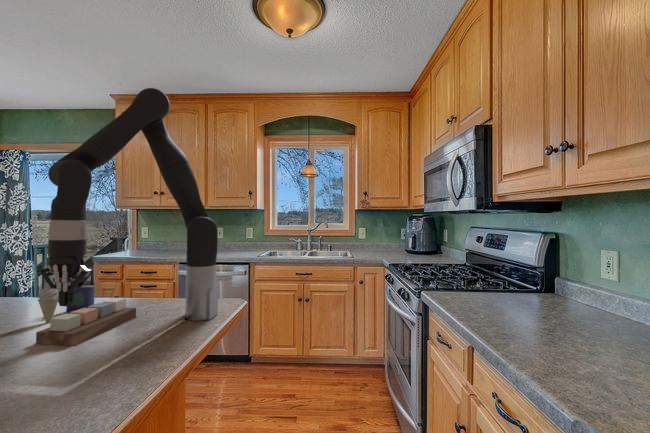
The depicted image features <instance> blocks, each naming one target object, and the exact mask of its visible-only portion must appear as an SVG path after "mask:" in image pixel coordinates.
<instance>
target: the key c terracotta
mask: <svg viewBox="0 0 650 433" xmlns="http://www.w3.org/2000/svg"><path fill="white" fill-rule="evenodd" d="M69 314H81V324H87V323H89V322H92V321H94V320H97V319H98V308H82V309H79V310H75V311H72V312H69Z"/></svg>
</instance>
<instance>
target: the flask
mask: <svg viewBox="0 0 650 433" xmlns="http://www.w3.org/2000/svg"><path fill="white" fill-rule="evenodd" d="M95 290H96V287H95V285H84V284H83V286H82V287H81V288H77V289H75V290H74V298H73V299H74V300H73V303H72V304H71V305H69V306H66V310H65V313H68V312H69V313H70V312H73V311H76V310H79V309H82V308H88V306H91V305H94V304H95Z"/></svg>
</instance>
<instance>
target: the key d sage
mask: <svg viewBox="0 0 650 433" xmlns="http://www.w3.org/2000/svg"><path fill="white" fill-rule="evenodd" d="M49 324H50V326H49V327H50V331H64V332H66V331H69V330H71V329H74V328H76V327H79V326H81V314H70V313H64V314H61V315H58V316H55V317H54V316H53V317H52V318H51V319H50V323H49Z"/></svg>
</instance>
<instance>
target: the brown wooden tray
mask: <svg viewBox="0 0 650 433" xmlns="http://www.w3.org/2000/svg"><path fill="white" fill-rule="evenodd" d="M138 318H139V316H138V317H137V307H127V306H126V308H125V309H122V310H120V311H117V312H113V313H112V314H109V315H107V316H104V317H102V318H98V319H97V320H94V321H92V322H89V323H87V324H81V326H79V327H76V328H74V329H71V330H69V331H66V332H64V331H50V326H49V327H47V328H44V329H42V330H39V331H36V332H35V334H36V335H35V343H34V346H35V345H37V346H41V345H42V346H59V347H74V348H75V347H77V346H80V345H81V344H84V343H86V342H88V341H90V340H92V339H94V338H96V337H99V336H101V335H103V334H106V333H107V332H110V331H112V330H114V329H117V328H119V327H121V326H123V325H124V324H127V323H129V322H132V321H134V320H136V319H138Z"/></svg>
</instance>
